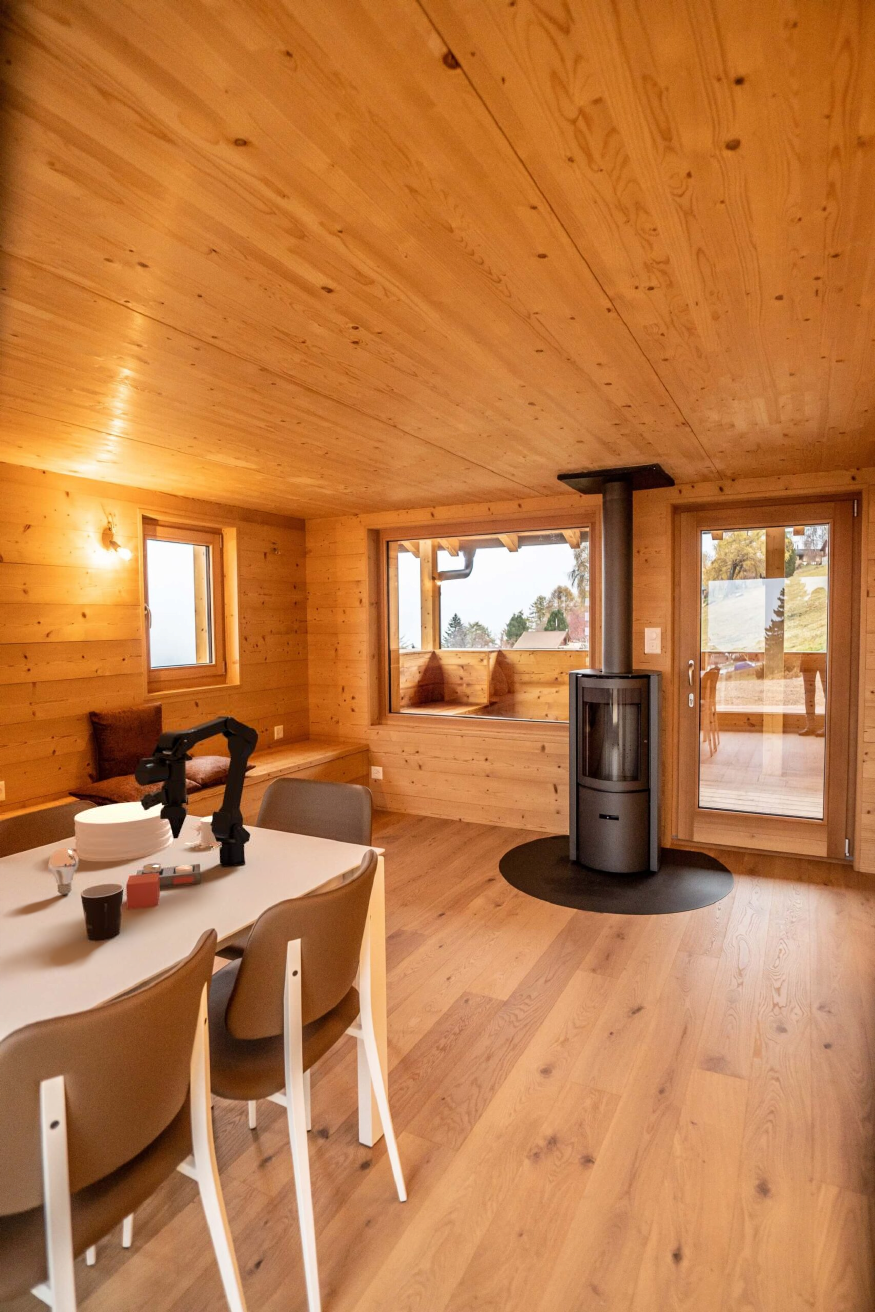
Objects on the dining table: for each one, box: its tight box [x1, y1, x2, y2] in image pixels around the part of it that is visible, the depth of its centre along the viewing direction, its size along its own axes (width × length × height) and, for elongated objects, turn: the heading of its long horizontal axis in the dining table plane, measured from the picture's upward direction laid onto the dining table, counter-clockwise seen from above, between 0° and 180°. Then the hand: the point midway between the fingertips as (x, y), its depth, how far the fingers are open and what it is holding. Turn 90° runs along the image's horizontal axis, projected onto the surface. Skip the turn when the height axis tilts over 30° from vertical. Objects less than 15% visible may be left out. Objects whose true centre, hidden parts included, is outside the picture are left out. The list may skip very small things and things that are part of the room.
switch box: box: [135, 863, 201, 889], centre depth 196 cm, size 16×8×3 cm, turn 107°
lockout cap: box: [125, 873, 161, 910], centre depth 181 cm, size 7×7×6 cm
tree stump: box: [185, 815, 221, 850], centre depth 233 cm, size 20×19×8 cm
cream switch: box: [175, 864, 193, 874], centre depth 197 cm, size 4×4×2 cm
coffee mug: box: [80, 883, 124, 942], centre depth 160 cm, size 12×9×10 cm
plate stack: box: [73, 801, 174, 862], centre depth 230 cm, size 28×28×12 cm
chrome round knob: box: [142, 862, 162, 874], centre depth 194 cm, size 4×4×2 cm
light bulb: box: [48, 847, 80, 897], centre depth 188 cm, size 7×7×12 cm
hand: (175, 838), depth 194 cm, fingers closed
